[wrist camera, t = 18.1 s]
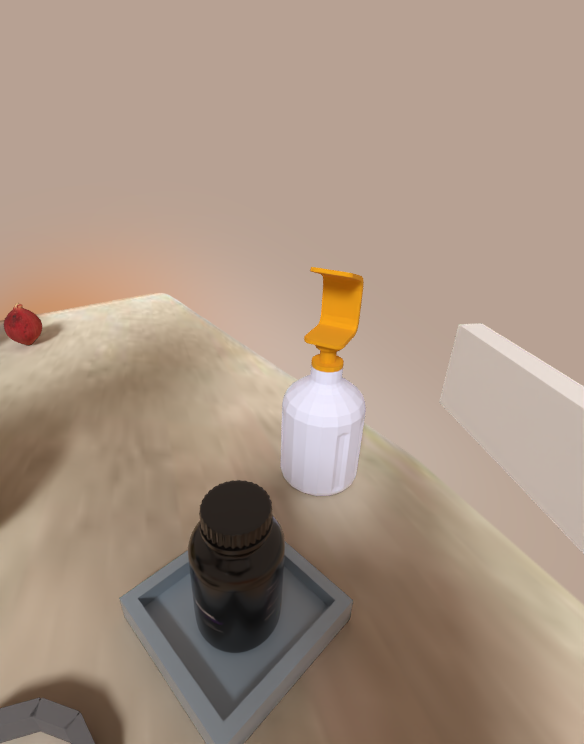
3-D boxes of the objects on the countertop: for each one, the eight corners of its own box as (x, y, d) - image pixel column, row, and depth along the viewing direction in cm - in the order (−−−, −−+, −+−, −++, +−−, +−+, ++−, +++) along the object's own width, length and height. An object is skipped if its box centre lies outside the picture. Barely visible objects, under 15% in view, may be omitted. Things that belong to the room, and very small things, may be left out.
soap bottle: (267, 481, 47) (268, 269, 35) (300, 438, 54) (310, 251, 42) (340, 509, 43) (369, 286, 32) (364, 459, 51) (396, 262, 39)
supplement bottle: (180, 645, 30) (161, 535, 24) (215, 565, 36) (206, 461, 30) (269, 668, 29) (272, 559, 23) (290, 581, 35) (296, 477, 29)
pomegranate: (34, 352, 73) (22, 310, 69) (3, 350, 73) (-11, 309, 69) (52, 339, 78) (41, 299, 74) (23, 337, 78) (11, 298, 75)
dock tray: (124, 616, 33) (119, 598, 32) (247, 526, 41) (247, 508, 40) (222, 768, 25) (220, 751, 24) (349, 618, 33) (353, 600, 32)
